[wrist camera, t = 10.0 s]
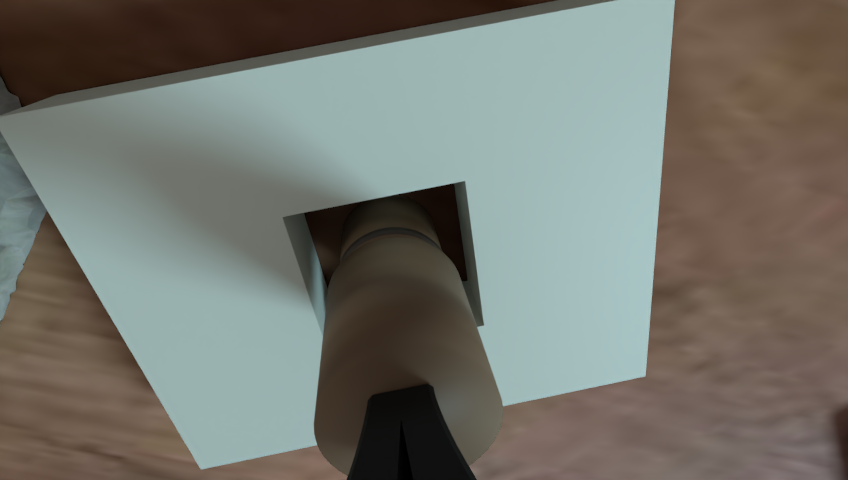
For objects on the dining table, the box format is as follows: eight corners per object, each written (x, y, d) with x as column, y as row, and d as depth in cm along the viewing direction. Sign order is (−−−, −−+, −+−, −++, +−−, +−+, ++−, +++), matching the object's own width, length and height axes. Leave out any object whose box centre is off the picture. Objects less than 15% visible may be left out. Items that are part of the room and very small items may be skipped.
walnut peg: (354, 296, 20) (350, 504, 12) (317, 205, 18) (283, 383, 10) (453, 267, 20) (516, 458, 12) (428, 173, 18) (483, 327, 10)
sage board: (220, 410, 22) (200, 469, 19) (57, 94, 15) (-8, 118, 12) (611, 329, 22) (645, 376, 20) (622, -12, 15) (675, -11, 13)
